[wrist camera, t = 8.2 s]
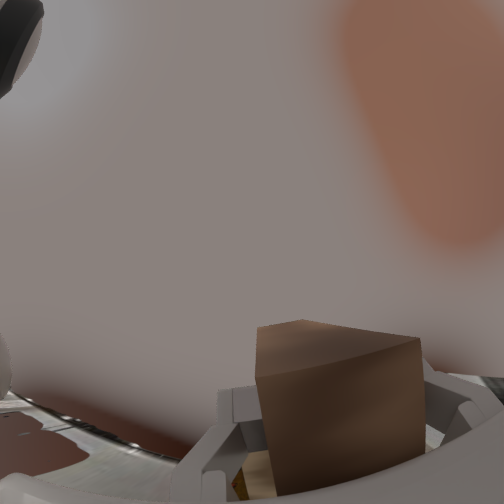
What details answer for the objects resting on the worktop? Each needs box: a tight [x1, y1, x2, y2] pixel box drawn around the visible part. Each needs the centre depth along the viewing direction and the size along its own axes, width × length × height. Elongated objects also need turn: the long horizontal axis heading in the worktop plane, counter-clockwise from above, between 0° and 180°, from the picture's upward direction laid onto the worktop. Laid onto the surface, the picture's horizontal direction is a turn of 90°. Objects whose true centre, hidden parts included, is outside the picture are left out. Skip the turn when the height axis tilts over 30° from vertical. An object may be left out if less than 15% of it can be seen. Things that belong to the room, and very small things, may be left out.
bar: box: [255, 320, 426, 497], centre depth 16 cm, size 4×20×4 cm, turn 179°
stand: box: [242, 450, 277, 500], centre depth 26 cm, size 7×13×26 cm, turn 179°
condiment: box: [231, 466, 250, 501], centre depth 38 cm, size 7×8×12 cm
